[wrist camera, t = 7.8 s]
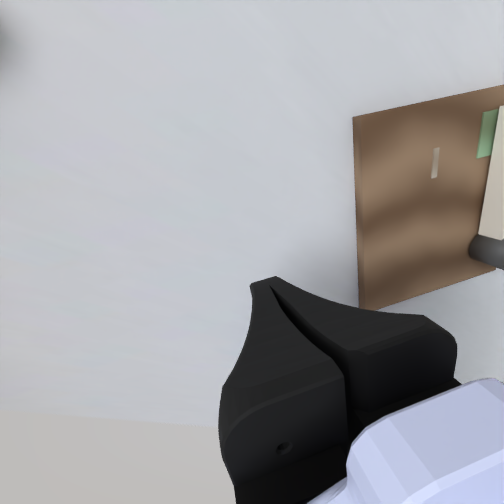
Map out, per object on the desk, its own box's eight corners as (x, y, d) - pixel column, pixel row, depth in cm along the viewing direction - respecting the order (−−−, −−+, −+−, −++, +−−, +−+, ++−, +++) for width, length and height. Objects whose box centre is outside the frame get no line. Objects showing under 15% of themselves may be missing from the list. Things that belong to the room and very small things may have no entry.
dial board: (485, 266, 29) (496, 270, 28) (359, 308, 26) (366, 314, 25) (521, 81, 22) (537, 77, 21) (352, 117, 19) (361, 115, 18)
